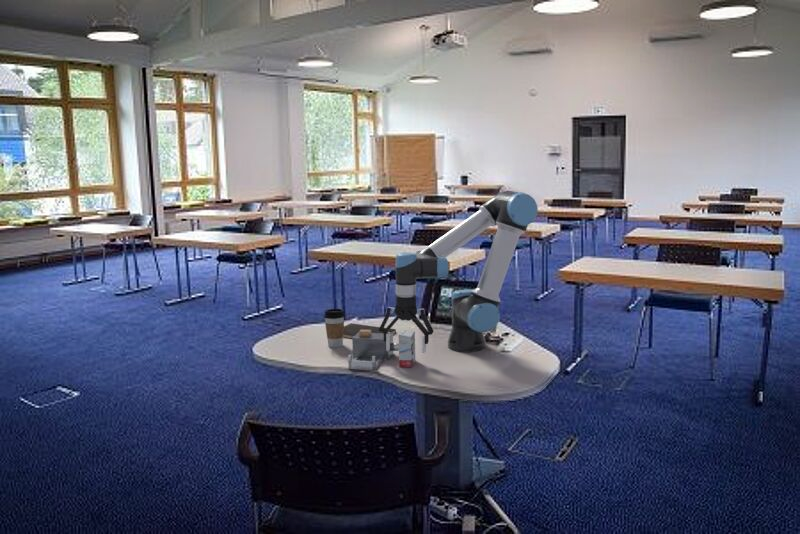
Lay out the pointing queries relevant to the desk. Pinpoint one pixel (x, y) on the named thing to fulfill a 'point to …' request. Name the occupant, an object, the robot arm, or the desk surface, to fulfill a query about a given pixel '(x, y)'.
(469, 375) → the desk surface
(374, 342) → the motor block
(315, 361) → the desk surface
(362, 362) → the clip bracket
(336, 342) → the coffee cup
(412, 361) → the ink box
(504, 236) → the robot arm
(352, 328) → the hardcover book
